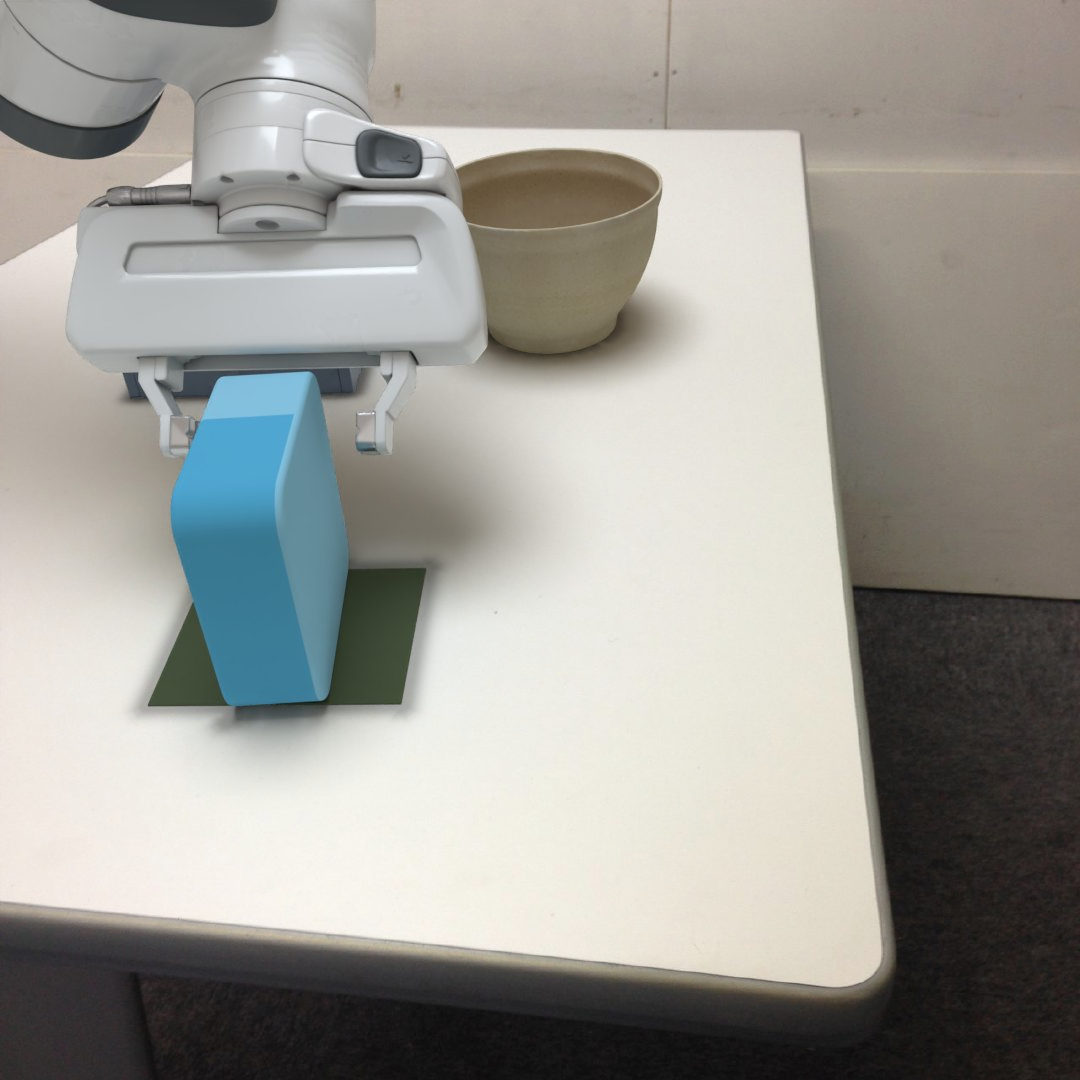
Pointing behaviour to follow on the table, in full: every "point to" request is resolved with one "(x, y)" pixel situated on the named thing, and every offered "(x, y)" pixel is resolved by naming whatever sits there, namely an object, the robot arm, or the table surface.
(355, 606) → the mat
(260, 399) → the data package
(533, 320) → the planter bowl
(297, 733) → the table surface
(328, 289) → the robot arm
